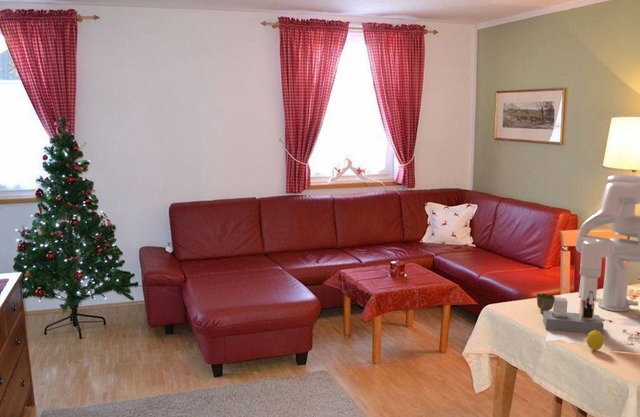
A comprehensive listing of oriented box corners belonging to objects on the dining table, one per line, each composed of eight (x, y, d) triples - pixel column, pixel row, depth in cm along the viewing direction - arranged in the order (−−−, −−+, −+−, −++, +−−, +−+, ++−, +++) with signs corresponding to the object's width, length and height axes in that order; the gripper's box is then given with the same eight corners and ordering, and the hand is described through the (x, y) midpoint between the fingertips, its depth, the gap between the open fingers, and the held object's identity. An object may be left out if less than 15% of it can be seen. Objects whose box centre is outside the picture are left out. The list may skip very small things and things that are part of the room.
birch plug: (590, 327, 237) (592, 300, 235) (592, 331, 233) (594, 303, 231) (578, 326, 238) (580, 299, 236) (580, 330, 234) (582, 302, 232)
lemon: (594, 354, 212) (596, 333, 211) (582, 348, 217) (584, 328, 216) (605, 352, 214) (607, 331, 213) (593, 346, 219) (595, 326, 218)
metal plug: (563, 325, 240) (565, 298, 238) (565, 328, 236) (567, 301, 234) (552, 323, 241) (554, 297, 239) (553, 327, 237) (555, 300, 235)
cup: (555, 316, 251) (556, 298, 250) (537, 315, 252) (538, 297, 251) (551, 310, 258) (553, 293, 257) (534, 309, 260) (535, 292, 258)
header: (597, 326, 239) (598, 315, 238) (602, 336, 230) (603, 323, 229) (542, 321, 244) (543, 310, 243) (545, 330, 235) (546, 318, 234)
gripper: (576, 265, 241) (572, 307, 244) (583, 276, 224) (580, 321, 228) (596, 266, 239) (592, 309, 242) (605, 278, 223) (600, 323, 226)
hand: (586, 314), depth 235 cm, fingers closed on birch plug, 4 cm apart
